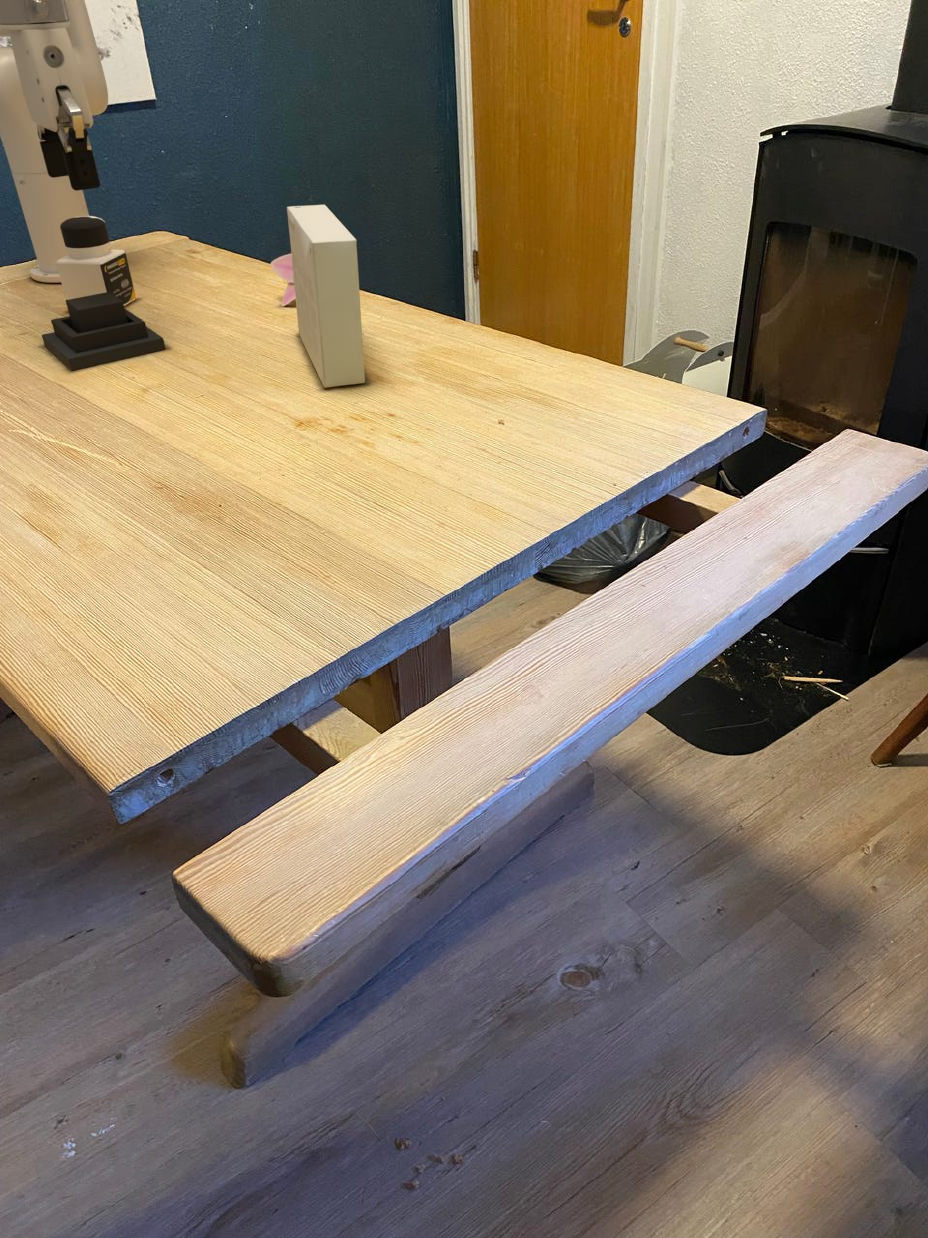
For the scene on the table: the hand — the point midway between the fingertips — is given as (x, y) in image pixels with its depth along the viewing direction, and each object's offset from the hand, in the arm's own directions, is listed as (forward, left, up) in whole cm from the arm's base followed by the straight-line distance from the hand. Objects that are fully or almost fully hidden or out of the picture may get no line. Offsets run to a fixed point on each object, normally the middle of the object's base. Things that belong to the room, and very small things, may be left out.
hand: (74, 181), depth 109 cm
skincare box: (+26, +19, -19) cm, 37 cm away
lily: (+4, +28, -19) cm, 34 cm away
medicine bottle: (-16, +4, -19) cm, 26 cm away
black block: (+3, -2, -18) cm, 18 cm away
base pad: (+3, -2, -19) cm, 19 cm away
